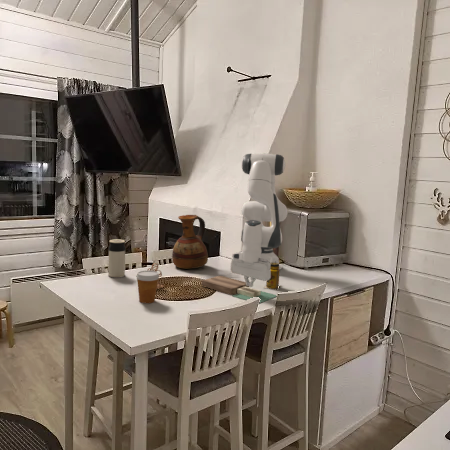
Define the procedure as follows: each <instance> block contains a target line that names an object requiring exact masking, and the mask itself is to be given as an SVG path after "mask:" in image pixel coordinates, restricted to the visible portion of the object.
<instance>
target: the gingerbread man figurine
mask: <svg viewBox="0 0 450 450" xmlns="http://www.w3.org/2000/svg"><path fill="white" fill-rule="evenodd" d="M146 271H156V272H159V273H158V274H159V278H162V276H163V273H162V271H161V270H160V269H159V264H158V263H156V262H155V263H152V264H151V266H150V267H148V268H147V270H146ZM160 287H164V288H165V285H162V284H161V283H160V280H159V279H158V283H157V288H160Z"/></svg>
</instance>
